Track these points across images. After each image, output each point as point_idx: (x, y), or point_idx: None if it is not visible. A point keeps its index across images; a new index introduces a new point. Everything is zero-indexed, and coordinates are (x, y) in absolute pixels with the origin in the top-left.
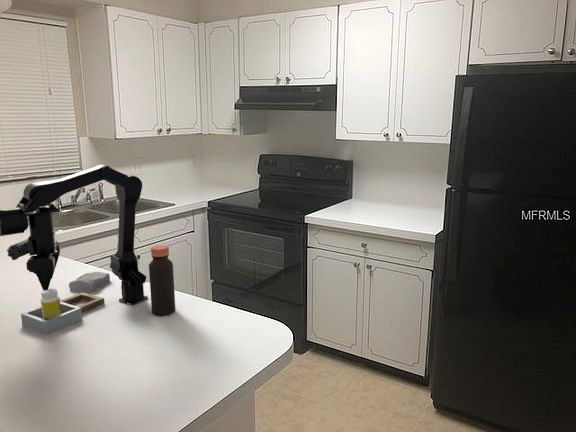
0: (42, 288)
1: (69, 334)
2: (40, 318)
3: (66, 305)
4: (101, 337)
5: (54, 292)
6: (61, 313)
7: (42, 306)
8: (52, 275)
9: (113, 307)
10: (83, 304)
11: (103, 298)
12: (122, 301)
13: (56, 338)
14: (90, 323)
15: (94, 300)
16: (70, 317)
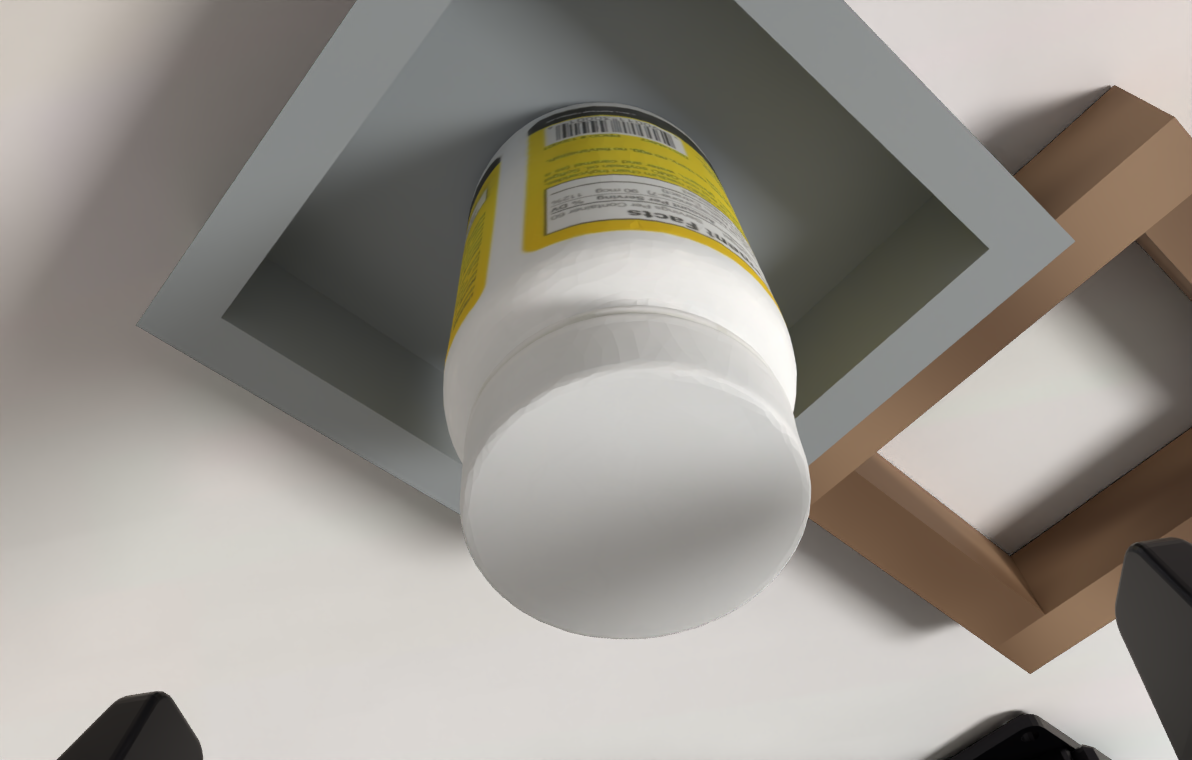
0: (67, 749)
1: (218, 478)
2: (285, 210)
3: None
4: None
5: (546, 617)
6: (776, 290)
7: (492, 247)
8: (1167, 735)
9: (872, 693)
10: (909, 526)
11: (1026, 670)
12: (975, 749)
13: (104, 379)
14: (494, 594)
15: (1000, 605)
16: None
